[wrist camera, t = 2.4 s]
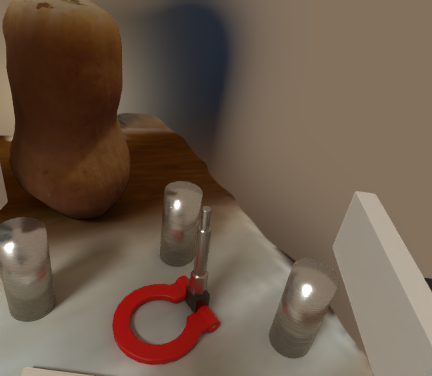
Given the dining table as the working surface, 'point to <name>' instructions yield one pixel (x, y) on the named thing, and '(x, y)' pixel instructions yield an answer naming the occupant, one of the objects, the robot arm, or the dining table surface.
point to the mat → (46, 372)
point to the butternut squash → (66, 104)
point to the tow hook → (175, 293)
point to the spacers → (172, 255)
